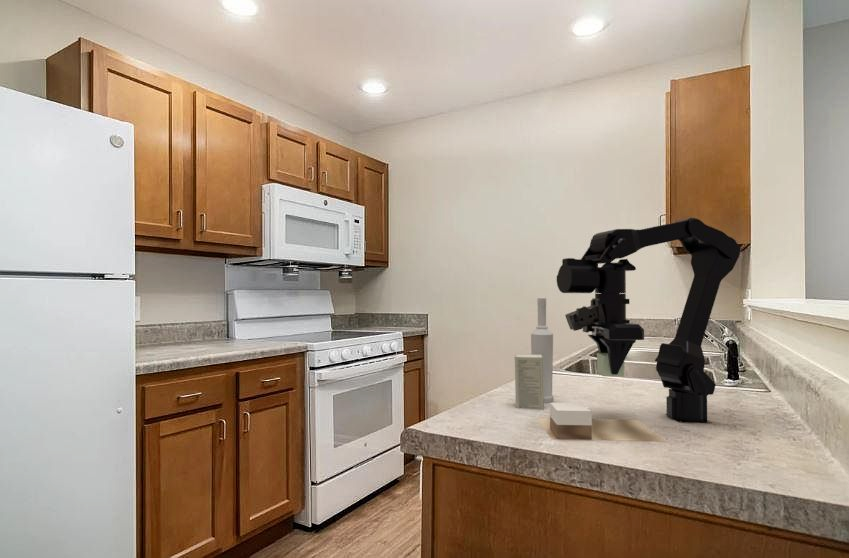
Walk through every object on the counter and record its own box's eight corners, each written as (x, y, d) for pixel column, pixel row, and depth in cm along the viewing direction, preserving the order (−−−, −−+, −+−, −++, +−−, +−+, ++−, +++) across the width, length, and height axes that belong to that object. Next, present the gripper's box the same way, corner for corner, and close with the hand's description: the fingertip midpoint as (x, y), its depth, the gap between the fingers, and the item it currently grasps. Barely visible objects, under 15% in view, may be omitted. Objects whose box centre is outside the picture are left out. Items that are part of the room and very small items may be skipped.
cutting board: (636, 422, 97) (636, 419, 97) (668, 444, 83) (668, 441, 83) (537, 421, 98) (537, 418, 98) (551, 442, 84) (551, 438, 84)
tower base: (582, 429, 89) (582, 416, 90) (591, 439, 83) (591, 425, 84) (550, 429, 90) (549, 415, 90) (556, 439, 84) (556, 424, 84)
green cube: (617, 373, 96) (617, 353, 96) (624, 376, 92) (624, 355, 92) (597, 372, 96) (597, 352, 96) (603, 376, 92) (603, 355, 93)
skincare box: (543, 407, 109) (543, 354, 110) (543, 412, 105) (543, 357, 105) (515, 406, 111) (515, 353, 111) (514, 410, 106) (514, 356, 107)
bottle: (531, 405, 111) (531, 298, 112) (530, 400, 117) (530, 298, 117) (554, 406, 111) (554, 298, 111) (552, 401, 116) (551, 298, 116)
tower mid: (582, 416, 90) (582, 403, 90) (591, 425, 84) (591, 411, 84) (549, 415, 90) (549, 402, 90) (556, 424, 84) (556, 410, 84)
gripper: (558, 293, 105) (558, 364, 104) (581, 293, 86) (582, 380, 85) (610, 293, 104) (610, 365, 103) (645, 293, 85) (645, 381, 85)
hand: (610, 372), depth 94 cm, fingers closed on green cube, 4 cm apart
